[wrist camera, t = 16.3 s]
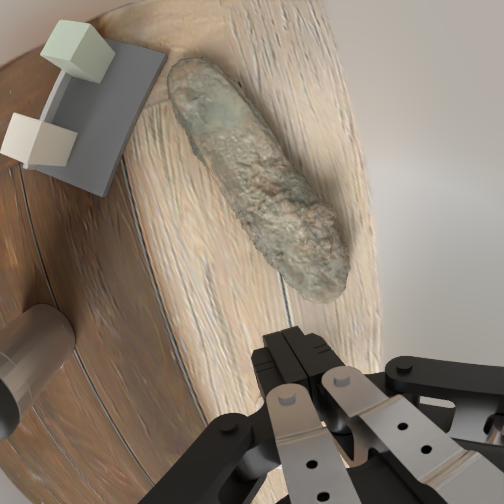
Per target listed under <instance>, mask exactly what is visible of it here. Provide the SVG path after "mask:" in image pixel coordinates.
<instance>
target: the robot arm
mask: <svg viewBox="0 0 504 504" xmlns="http://www.w3.org/2000/svg"><path fill="white" fill-rule="evenodd" d="M262 337H263V343H264V348H260V349H257V350H254V351H253V354H252V357H251V360H252V364H253V368H254V372H255V376H256V379H257V383H258V387H259V390H260V393H261V395H262V398H263V401H264V404H263V406H262V407H261V408H260V409H259V410H258V411H257V412H255V413H254V414H252V415H250V416H248V417H247V416H245V415H243V414H240V413H228V414H224V415H221V416H219V417H217V418H215V419H214V420H213V421H212V422H211V423H210V424H209V425H208V426H207V428H206V429H205V430H204V431H203V432H202V433H201V435H200V436H199V437H198V438H197V439H196V440H195V442H194V443H193V444H192V445H191V446H190V447H189V448H188V450H187V451H186V452H185V453H184V454H183V455H182V456H181V457H180V459H179V460H178V461H177V462H176V463H175V464H174V465H173V466H172V468H171V469H170V470H169V471H168V472H167V473H166V474H165V475H164V476H163V477H162V478H161V480H160V481H159V482H158V483H157V484H156V485H155V486H154V487H153V488H152V489H151V490H150V491H149V492H148V493H147V494H146V495H145V497H144V498H143V499H142V500H141V501H140V502H139V503H138V504H250V503H251V502H252V500H253V499H254V497H255V496H256V494H257V492H258V491H259V489H260V488H261V486H262V484H263V483H264V481H265V479H266V477H267V473H268V472H270V471H271V470H273V469H275V468H276V467H278V466H280V465H282V469H283V473H284V477H285V481H286V485H287V489H288V493H289V494H288V495H287V496H285V497H284V498H282V499H281V500H279V501H278V502H277V503H276V504H504V367H498V366H487V365H477V364H468V363H459V362H451V361H442V360H434V359H427V358H420V357H413V356H400V357H396V358H394V359H392V360H391V361H389V362H388V363H387V364H386V367H385V372H380V373H374V374H362V373H361V372H360V371H359V370H358V369H356V368H354V367H350V366H345V365H344V363H343V362H342V361H341V360H340V358H339V357H338V356H337V355H336V354H335V352H334V351H333V350H331V348H330V346H329V345H327V343H326V342H325V340H324V339H323V338H322V337H320V336H318V335H316V334H314V333H311V334H308V335H304V334H303V332H302V331H301V330H300V328H299V327H298V326H295V327H291V328H288V329H284V330H281V331H278V332H274V333H270V334H267V335H263V336H262ZM74 347H75V336H74V332H73V329H72V327H71V325H70V323H69V321H68V320H67V318H66V317H65V316H64V315H63V314H62V313H61V312H60V311H59V310H57V309H56V308H54V307H52V306H50V305H47V304H37V305H34V306H32V307H31V308H30V309H28V310H27V311H25V312H24V313H23V314H21V315H20V316H19V317H17V318H16V319H15V320H13V321H12V322H11V323H9V324H8V325H7V326H5V327H4V328H3V329H1V330H0V440H4V439H6V438H8V437H9V436H10V435H11V434H12V433H13V432H14V430H15V429H16V427H17V426H18V425H19V423H20V422H21V420H22V419H23V418H24V416H25V415H26V413H27V412H28V411H29V409H30V408H31V406H32V405H33V404H34V402H35V401H36V399H37V398H38V397H39V395H40V394H41V393H42V391H43V390H44V389H45V387H46V386H47V385H48V383H49V382H50V381H51V380H52V378H53V377H54V376H55V374H56V373H57V372H58V370H59V369H60V368H61V367H62V365H63V364H64V363H65V361H66V360H67V359H68V358H69V356H70V355H71V354H72V352H73V350H74ZM420 396H424V397H431V398H437V399H443V400H449V401H451V402H453V403H454V404H455V406H456V407H454V408H445V407H439V406H432V405H427V404H421V403H420ZM322 421H324V422H325V424H326V427H323V426H322V424H321V422H322ZM338 451H339V452H338ZM339 453H340V454H341V455H342V457H343V458H344V460H345V461H346V462H347V464H348V465H349V467H350V468H345V466H344V463H343V461H342V459H341V457H340V454H339Z"/></svg>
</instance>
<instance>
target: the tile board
mask: <svg viewBox="0 0 504 504" xmlns="http://www.w3.org/2000/svg"><path fill="white" fill-rule="evenodd" d="M103 39H104V40H105V41H106V43H107V44H108V45H109V46H110V47H111V49H112V50H113V51H114V52H115V53H116V54H115V56H114V58H113V60H112V62H111V63H110V65H109V67H108V69H107V71H106V73H105V75H104V77H103V79H102V81H101V83H100V84H98V83H94V82H90V81H87V80H83V79H79V78H75V77H73V76H71V75H70V74H68V73H67V72H65V71H64V70H61V72H60V74H59V76H58V78H57V80H56V82H55V85H54V87H53V89H52V91H51V93H50V96H49V98H48V100H47V102H46V105H45V107H44V110H43V112H42V114H41V117H40V119H39V120H40V121H44V122H47V123H50V124H53V125H56V126H59V127H62V128H65V129H68V130H71V131H74V132H77V133H78V134H77V137H76V140H75V142H74V145H73V147H72V150H71V153H70V155H69V158H68V161H67V164H66V167H63V166H50V165H34V164H26V163H24V165H23V168H25V169H34V170H37V171H40V172H42V173H45V174H47V175H49V176H52V177H54V178H57V179H59V180H61V181H64V182H66V183H69V184H71V185H73V186H76V187H78V188H81V189H83V190H86V191H88V192H90V193H93V194H95V195H98V196H100V197H107V194H108V191H109V188H110V186H111V183H112V180H113V178H114V175H115V172H116V170H117V167H118V164H119V162H120V159H121V157H122V154H123V152H124V149H125V147H126V145H127V142H128V140H129V138H130V135H131V133H132V131H133V128H134V126H135V124H136V122H137V119H138V117H139V115H140V113H141V111H142V108H143V106H144V104H145V102H146V100H147V98H148V96H149V94H150V92H151V90H152V88H153V86H154V84H155V82H156V80H157V78H158V76H159V74H160V72H161V70H162V68H163V66H164V65H165V63H166V61H167V59H168V57H167V55H166V54H165V53H162V52H158V51H155V50H151V49H148V48H144V47H140V46H136V45H132V44H128V43H124V42H120V41H116V40H111V39H107V38H103Z"/></svg>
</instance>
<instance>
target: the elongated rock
mask: <svg viewBox="0 0 504 504" xmlns="http://www.w3.org/2000/svg"><path fill="white" fill-rule="evenodd" d="M167 87H168V94H169V99H170V100H171V101H172V104H173V108H174V112H175V114H176V118H177V119H178V121H179V123H180V124H181V125H182V127H183V128H184V129H185V131H186V134H187V135H188V136H189V139H190V144H191V147H192V150H193V153H194V154H195V155H196V156H198V159H199V160H200V161H202V162H203V164H204V166H206V167H207V168H208V169H209V171H210V173H211V175H212V177H213V178H214V180H215V182H216V184H217V185H218V187H219V189H220V191H221V193H222V195H223V196H224V198H225V199H226V200H227V202H228V203H229V205H230V207H231V208H232V210H233V211H234V212H235V213H236V218H239V219H240V221H241V224H242V228H243V229H244V230H245V231H246V232H247V234H248V235H249V239H250V240H251V241H253V243H254V245H255V247H256V249H257V250H259V251H260V252H261V253H263V255H264V258H265V259H266V261H267V263H269V264H270V265H271V266H272V267H273V268H275V269H277V270H278V271H279V272H280V273H281V274H282V275H283V278H284V280H285V282H286V283H288V284H289V286H291V287H292V288H295V289H296V290H297V291H299V293H300V294H301V295H302V297H303V299H305V300H309V301H312V302H314V303H318V304H320V303H321V304H325V303H329V302H332V301H334V300H335V299H336V298H338V297H339V296H340V295H341V294H342V292H343V291H344V290H345V288H346V280H347V276H348V271H349V270H350V265H349V257H348V255H347V254H348V249H347V246H346V245H345V243H344V242H343V241H342V240H341V239H340V237H339V232H338V230H336V228H335V224H334V223H335V218H336V217H337V212H336V211H335V209H334V208H333V207H332V205H331V204H328V203H322V202H321V200H320V199H319V196H318V195H317V193H316V191H315V190H313V189H312V188H311V186H310V185H309V184H308V183H306V181H305V178H304V177H303V176H302V175H301V174H299V173H298V171H297V170H296V169H295V168H294V166H293V165H292V164H291V163H290V161H289V160H288V159H287V158H286V156H285V154H284V151H283V150H282V148H281V146H280V144H279V143H278V141H277V139H276V137H275V135H274V134H273V132H272V131H271V130H270V127H269V126H268V123H267V122H266V121H265V119H264V118H263V117H262V115H261V113H260V111H259V110H258V109H256V108H255V107H254V105H253V103H252V102H251V100H249V99H248V98H246V96H245V93H244V91H243V90H242V88H241V87H240V86H239V84H238V83H237V82H235V81H232V80H231V79H230V77H229V76H228V75H226V74H225V73H224V72H223V71H222V70H221V69H220V68H219V66H218V65H217V64H214V63H213V62H212V61H211V60H209V59H208V58H207V57H201V58H200V59H198V58H191V59H181V60H180V61H179V62H178V63H177V64H176V65H173V66H172V69H171V70H170V73H169V75H168V77H167Z"/></svg>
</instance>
